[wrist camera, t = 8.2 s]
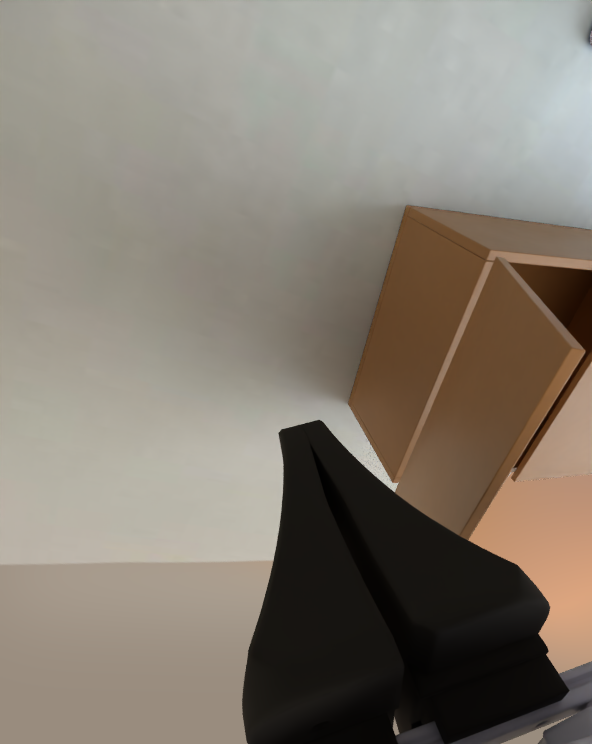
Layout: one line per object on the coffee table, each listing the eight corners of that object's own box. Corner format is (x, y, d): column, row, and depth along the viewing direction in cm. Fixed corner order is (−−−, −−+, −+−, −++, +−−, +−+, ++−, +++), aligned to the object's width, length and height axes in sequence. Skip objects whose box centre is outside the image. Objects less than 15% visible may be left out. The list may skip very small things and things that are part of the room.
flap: (400, 493, 20) (394, 491, 20) (504, 258, 14) (496, 255, 14) (407, 638, 15) (399, 636, 15) (586, 351, 8) (571, 348, 8)
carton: (347, 403, 26) (398, 494, 20) (406, 204, 20) (503, 256, 14) (524, 399, 30) (607, 473, 24) (619, 233, 24) (760, 282, 18)
